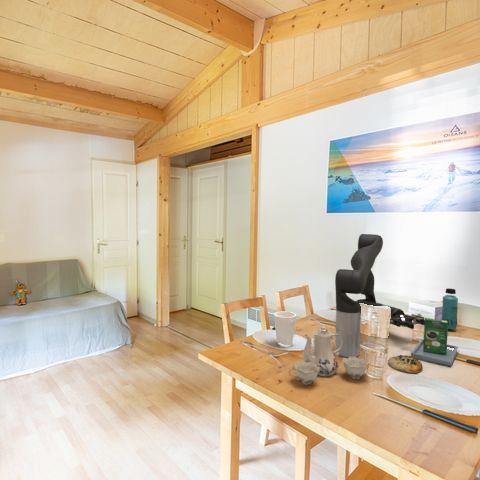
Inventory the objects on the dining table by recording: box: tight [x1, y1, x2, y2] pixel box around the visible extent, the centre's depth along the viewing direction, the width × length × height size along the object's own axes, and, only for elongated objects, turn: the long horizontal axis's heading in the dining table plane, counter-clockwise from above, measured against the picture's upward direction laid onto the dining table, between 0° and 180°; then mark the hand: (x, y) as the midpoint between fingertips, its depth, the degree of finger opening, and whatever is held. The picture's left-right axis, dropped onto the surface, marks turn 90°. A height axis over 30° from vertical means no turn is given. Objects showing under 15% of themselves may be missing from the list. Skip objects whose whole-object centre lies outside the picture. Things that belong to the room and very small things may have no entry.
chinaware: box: [288, 325, 370, 386], centre depth 112 cm, size 28×17×17 cm, turn 107°
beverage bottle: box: [441, 288, 459, 330], centre depth 158 cm, size 6×7×20 cm
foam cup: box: [273, 310, 297, 345], centre depth 139 cm, size 10×9×13 cm
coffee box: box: [423, 317, 449, 355], centre depth 129 cm, size 8×3×13 cm, turn 60°
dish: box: [410, 338, 459, 369], centre depth 129 cm, size 19×13×2 cm
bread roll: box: [387, 354, 424, 374], centre depth 118 cm, size 11×11×5 cm
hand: (421, 325), depth 134 cm, fingers open, 8 cm apart
